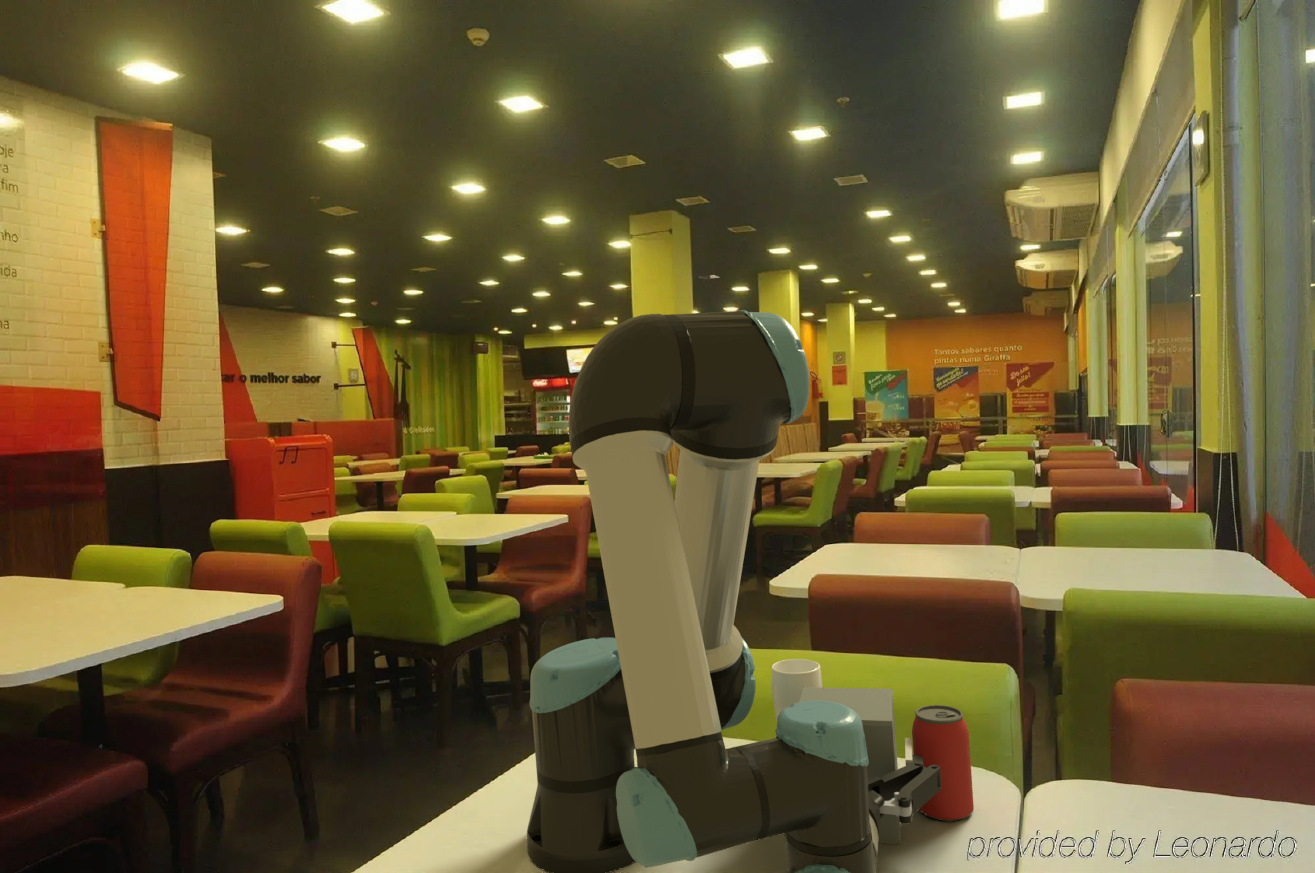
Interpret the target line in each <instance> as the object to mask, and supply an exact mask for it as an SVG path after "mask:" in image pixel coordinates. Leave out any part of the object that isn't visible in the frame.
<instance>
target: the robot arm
mask: <svg viewBox="0 0 1315 873" xmlns="http://www.w3.org/2000/svg"><path fill="white" fill-rule="evenodd" d="M810 386H811V385H810V370H809V364H808V359H807V356H806V353H805V351H804V347H803V345H802V342H801V339H800V337H799V336H798V334H797V332H796V330H795V329H794V328H793V326H792V325H791V324H790V323H789V322H788V321H787V319H785V318H784V317H782V316H780V315H779V314H776V313H772V312H765V311H764V312H759V311H758V312H757V311H756V312H755V311H754V312H753V311H747V310H745V309H740V310H736V311H717V312H697V313H696V312H693V313H676V314H675V313H673V314H672V313H671V314H663V313H662V314H661V313H648V314H641V315H637V316H633V317H630V318H628V319H626V320H624V321H622V322H621V323H618V324H617V325H616V326H614V327H613V328H611V329H610V330H608V331H607V332H606V333H605V334H604V336H602V337H601V338H600V340H598V341H597V343H596V344H595V345H594V346H593V347H592V348H591V351H590V352H589V353H588V355H587V357H586V358H585V360H584V362H583V364H582V366H581V368H580V370H579V372H578V375H577V377H576V380H575V382H574V387H573V389H572V393H571V398H570V402H569V411H568V439H569V444H570V450H571V456H572V462H573V464H574V465H575V466H577V467H578V468H579V469H581V470H583V471H584V472H585V475H586V480H587V487H588V492H589V497H590V504H591V507H592V515H593V519H594V525H595V531H596V538H597V542H598V546H599V554H600V558H601V564H602V569H603V576H604V581H605V582H604V583H605V586H606V592H607V598H608V603H609V609H610V614H611V619H612V626H613V630H614V635H615V637H609V636H607V637H599V638H588V639H587V638H586V639H582V640H581V639H580V640H579V641H578V640H577V641H574V642H571V643H567V644H565V645H562V646H560V647H559V646H558V647H557V648H555V649H553V650H550V651H549V652H547V653H545V655H542V656H541V657H540V658H539V659H538V660H537V661H536V662H535V664H534V665H533V667H532V669H531V673H530V681H529V684H530V686H529V687H530V689H529V690H530V691H529V692H530V697H529V707H530V710H531V717H532V729H533V740H534V741H533V742H534V754H535V766H536V777H537V778H536V780H537V783H536V784H537V785H536V786H537V788H536V789H535V790H536V791H535V795H534V800H533V804H532V808H531V812H530V816H529V820H528V825H527V829H526V844H527V845H526V848H527V855H528V858H529V860H530V862H531V863H532V864H533V865H535V866H536V867H537V868H539V869H540V870H543V871H545V872H547V873H611V872H615V871H619V870H620V869H624V868H626V867H628V866H630V865H632V864H634V863H635V862H636V863H637V864H638V865H641V866H643V867H644V868H653V867H658V866H663V865H666V864H670V863H671V864H672V863H677V862H681V861H688V862H692V861H694V860H696V859H697V858H700V857H703V856H707V855H710V854H713V853H717V852H719V851H723V850H727V849H730V848H734V847H738V846H742V845H744V844H748V843H751V842H756V841H759V840H765V839H768V838H772V837H777V836H780V835H784V836H785V846H786V849H785V850H786V861H787V873H877V864H878V852H879V849H878V848H879V843H878V838H879V822H880V819H881V818H883V817H884V815H885V814H891V815H896V816H897V817H899V821H900V824H904V825H908V824H911V823H912V820H913V815H914V814H915V813H916V812H918V811H920V808H921V807H922V806H923V805H924V804H925V803H927V802H928V801H929V800H930V799H931V798H932V797H933V796H935V795H936V794H937V793H938V792H939V791H940V790H941V789H942V787H941V772H940V766H938V765H930V766H929V767H927V768H926V767H924V766H923V756H922V755H913V740H912V737H904V742H905V743H904V750H905V751H904V752H905V756H904V758H905V760H904V761H905V766H902V767H900V768H898V769H897V770H895V771H893V772H890V773H888V774H886V775H883V776H881V777H879V778H878V777H875V776H870V777H868V769H867V766H868V763H869V762H868V755H867V749H866V742H865V735H864V731H863V725H862V721H861V719H860V717H859V715H858V714H857V713H856V712H855V711H854V710H852V709H850V708H848V707H847V706H845V705H843V704H840V703H836V702H830V701H804V702H799V703H795V704H792V705H791V706H790V707H787V708H784V709H783V710H782V711H781V712H780V713H779V715H778V719H777V721H776V729H775V736H776V737H772V738H768V739H764V740H760V741H755V742H751V743H747V744H743V745H738V746H737V745H736V746H732V747H729V748H726V745H725V742H724V738H723V734H722V731H723V730H726V729H729V728H733V727H736V726H738V725H739V724H741V723H743V721H744V720H745V719H746V718H747V716H748V715H749V714H750V711H751V709H752V707H753V704H754V701H755V696H756V689H757V688H756V687H757V685H756V684H757V679H756V678H755V676H754V672H755V670H756V667H755V661H754V658H753V655H752V652H751V649H750V647H749V645H748V644H747V642H746V641H745V639H744V638H743V637H742V635H741V633H740V631H739V629H738V628H737V627H736V626H735V625H734V623H735V617H736V611H737V605H738V604H737V603H738V596H739V591H740V584H741V577H742V572H743V567H744V565H743V564H744V559H745V552H746V547H747V540H748V534H749V529H750V524H751V523H750V521H751V516H752V515H751V514H752V508H753V503H754V496H755V490H756V484H757V478H758V472H759V471H758V470H759V466H760V461H761V460H762V459H765V458H766V457H768V456H769V455H771V454H772V453H773V452H774V451H775V449H776V447H777V443H778V438H779V437H778V436H779V432H780V428H781V427H780V426H781V424H784V425H787V424H791V423H792V422H795V421H797V420H798V419H800V417H801V416H802V415H804V413H805V410H806V409H807V407H808V402H809V398H810V388H811V387H810ZM673 445H675V446H676V447H677V448H678V449H679V451H680V452H679V457H678V458H679V459H678V468H677V475H676V484H675V485H676V486H675V495H674V493H673V488H672V484H671V479H670V474H669V469H668V465H667V459H666V456H667V455H668V454H669V452H670V450H671V449H672V447H673ZM635 755H636V763H637V764H635ZM870 788H871V789H870Z"/></svg>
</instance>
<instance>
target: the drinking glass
mask: <svg viewBox="0 0 1315 873" xmlns="http://www.w3.org/2000/svg"><path fill="white" fill-rule="evenodd" d="M770 671H771V673H770V675H771V691H772V700H773V708H774V712H775V713H774V714H775V719H776V720H775V721H776V722H777V719H778V715H779V713H780V712H781V711H782V710H783V709H784V708H787V707H790V706H791V705H792V704H795V703H799V701H800V698H801V695H802V692H803V688H804V687H817V688H823V680H822V678H823V676H822V669H821V665H820V663H819V662H817V661H814V660H812V659H805V658H791V659H790V658H789V659H783V660H779V661H777V662H774V663H773V664H772V665H771V670H770Z"/></svg>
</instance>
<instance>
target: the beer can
mask: <svg viewBox="0 0 1315 873" xmlns="http://www.w3.org/2000/svg"><path fill="white" fill-rule="evenodd" d="M914 715H915V717H914V719H913V721H912V728H911V738H912V752H913V755H922V756H923V766H924V767H926V768H927V767H929V766H930V765H938V766H940V772H941V787H942V789H941V790H940V791H939V792H938V793H937V794H936V795H935V796H933V797H932V798H931V799H930V800H929V801H928V802H927V803H925V804H924V805H923V806H922V807H921V808H920V809H919V811H920V812H921V813H923V814H924V815H925V816H927V817H929V818H931V819H934V820H939V821H945V822H951V821H953V822H954V821H959V820H964V819H965V818H967V817H969V816H970V815H972V813H973V811H974V806H975V805H974V796H973V795H974V794H973V793H974V792H973V779H972V778H973V776H972V764H971V763H972V760H971V749H970V748H971V746H970V745H971V744H970V732H969V728H968V724H967V723H966V720H965V718H964V712H962V710H961V709H959V708H957V707H954V706H950V705H945V704H943V705H942V704H931V705H923V706H921V707H918V708H917V709H916V710H915V711H914Z"/></svg>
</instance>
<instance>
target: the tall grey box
mask: <svg viewBox="0 0 1315 873" xmlns="http://www.w3.org/2000/svg"><path fill="white" fill-rule="evenodd" d="M893 692H894V691H893V688H876V687H875V688H868V687H867V688H865V687H822V688H817V687H804V688H803V692H802V695H801V698H800V701H799V702H804V701H830V702H836V703H840V704H843V705H845V706H847V707H848V708H850V709H852V710H854V711H855V712H856V713H857V714H858V715H859V717H860V719H861V721H862V725H863V731H864V735H865V742H866V749H867V755H868V762H869V763H868V766H867V769H868V777H870V776H875V777H878V778H879V777H881V776H883V775H886V774H888V773H890V772H893V771H895V770H897V769H899V768H898V766H899V765H898V753H897V738H896V737H897V736H896V723H895V709H894V705H895V704H894V693H893ZM870 789H871V788H870ZM879 843H880V844H891V845H901V822H900V821H899V817H897V816H896V815H891V814H885V815H884V817H883V818H881V819H880V822H879V838H878V844H879Z"/></svg>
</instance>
